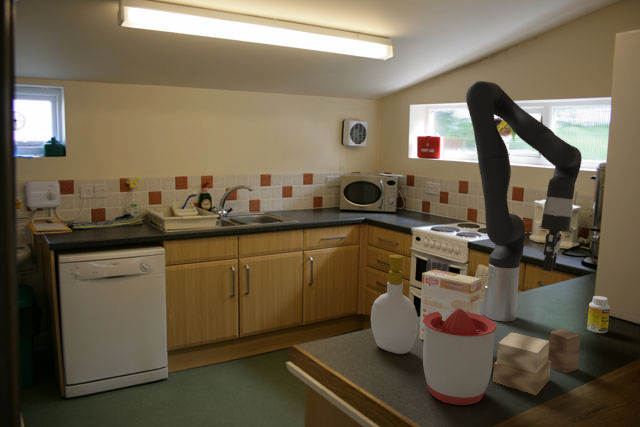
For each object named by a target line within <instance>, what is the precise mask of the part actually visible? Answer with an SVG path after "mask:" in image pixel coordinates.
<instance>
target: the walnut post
mask: <svg viewBox="0 0 640 427" xmlns="http://www.w3.org/2000/svg"><path fill="white" fill-rule="evenodd" d="M548 338H549V340H548V341H549V353H548V361H551V367H550V369H553V370H556V371H558V372H561V373H562V374H568V373H571V372H573V371H576V370H578V367H579V366H578V365H579V357H580V345H581V344H580V343H581V334H580V333H579V334H578V333H576V332H574V331H570V330H568V329H565V328H560V329H557V330H552V331H550V332H549V337H548Z"/></svg>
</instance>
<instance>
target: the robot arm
mask: <svg viewBox="0 0 640 427" xmlns="http://www.w3.org/2000/svg"><path fill="white" fill-rule="evenodd" d="M465 94H466V95H465V100H466V105H467V109H468V114H469V117H470V121H471V125H472V128H473V129H472V130H473V136H474V142H475V143H474V144H475V148H476V154H477V161H478V162H477V163H478V169H479V174H480V181H481V186H482V193H483V199H484V211H485V216H484V217H485V228H486V234H487V237H488V239H489V241H491V243H493V244H494V245H495V246H494V248H493V251H492V252H491V253H490V254H489V256H488V272H487V285H485V286H484V291H483V293H484V294H483V306H482V307H483V308H482V316H484V317H486V318H488V319H490V320H492V321H498V322H513V321H515V320H516V319H517V304H518V293H519V292H518V291H519V276H520V264H521V259H522V257H523V254H524V248H525V247H524V246H525V238H526V226H525V222H524V221H523V219H522V217H520V216H518V214H516V213H510V210H509V205H508V192H509V186H510V181H511V176H512V172H511V170H512V169H511V161H510V156H509V155H510V154H509V151H508V146H506V143H505V140H504V139H503V137H502V135H501V133H500V131H499V129H498V127H497V123H496V120H495V116H496V117H497V118H500V119H501V120H503V121H504V122H505V123H506V124H508V126H509V127H510V129H512V131H513V132H514V133H515V134H516V135H517V136H518V138H520V140H522V141H523V142H524V143H526V144H527V145H529V146H530V148H531V149H534V150H536V151H537V152H538V153H539V154H540V155H541V156H543V157H544V159H546V161H548V162H549V163H550V164H551V165H553V166H554V171H553V174H552V175H553V176H552V177H551V178H550V179H549V180H548V184H547V191H546V198H545V201H544V206H543V211H542V217H541V218H542V219H541V224H540V227H541V229H544V230H548V231H549V232H548V233H547V234H546V235H545V238H544V246H543V249H544V250H543V253H542V254H543V257H544V260H543V265H542V270H544V271H545V272H551V271H552V269H554V268H556V264H557V257H558V255H559V253H560V249H561V243H562V241H563V240H562V232H566V233H567V232H569V231H570V228H571V221H572V213H573V209H574V208H573V204H574V203H573V202H574V194H575V189H576V188H575V187H576V182H577V179H578V176H579V173H580V170H581V165H582V157H583V156H582V153H581V151H580V149H579V148H577V147H576V146H574V145H571V144H570V143H569V142H567V141H565V140H563V139H562V138H561V137H559V136H558V135H556V134H555V132H554V131H553V130H552V129H550V128H549V127H548V126H546V124H544V123H542V122H541V121H540V120H538V119H536V117H535V116H533V115H531V114H530V113H529V112H527V111H526V110H525V109H523V108H522V107H521V106H519V105H518V103H516V102H515V101H514V100H513V99H512V98H511V96H509V95H508V94H507V93H506V92H505V90H504V89H503V88H502V87H501V86H500V85H499V84H497V83H494V82H493V81H491V82H490V81H484V80H477V81H474V82H473V83H471V84H470V85H469V86H468V88H467V91H466V93H465ZM543 157H542V158H543ZM560 232H561V233H560Z"/></svg>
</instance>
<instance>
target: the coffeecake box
mask: <svg viewBox="0 0 640 427" xmlns="http://www.w3.org/2000/svg"><path fill="white" fill-rule="evenodd" d="M421 276H422V277H421V292H420V296H421V297H420V315H419V316H420V320H419V321H420V322H419V340H422V341H424V322H423V319H424V317H425V316H426V315H428V314H430V313H433V312H439V313H440V314H441V315H442V320H443V321H445V320H446V319H447V318H448V317H449V316H450V315H451V314H452V313H453V312H454V311H456V310H457V309H462V310H463V311H464V312H469V313H474V314H478V315H481V305H482V303H481V302H482V287H483V286H482V285H483V284H482V283H483V280H482V279H483V278H480V277H475V276H469V275H465V274H460V273H456V272H455V273H454V272H451V271H444V270H439V269H431V270H428V271H425V272H422V274H421Z"/></svg>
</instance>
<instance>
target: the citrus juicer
mask: <svg viewBox="0 0 640 427" xmlns="http://www.w3.org/2000/svg"><path fill="white" fill-rule="evenodd" d="M423 322H424V340H423V344H422V346H423V349H422V364H423V365H422V366H423V371H424V376H425V377H424V378H425V383H426V385H427V389H428V391H429V393H430V394H431V395H432V397H434V398H435V399H437V400H439V401H440V402H442V403H444V404H451V405H456V406H457V405H458V406H467V405H468V406H469V405H474V404H478V403H479V402H480V401H481V400H482V398H483V397H484V395H485V393H486V391H487V390H488V389H487V387H488V384H489V382H490V379H491V375H492V372H493V365H494V362H493V360H494V350H495V349H494V348H495V332H496V329H497V324H496V323H495V322H494V320H493V319H490V318H488V317H487V316H485V315H481V314H480V315H478V314H474V313H469V312H464V311H463V310H462V309H457V310H456V311H454V312H453V313H452V314H451V315H450V316H449V317H448V318H447V319H446V320H445V321H443V320H442V315H441V314H440V313H439V312H433V313H430V314H428V315H426V316H425V317H424V319H423Z"/></svg>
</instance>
